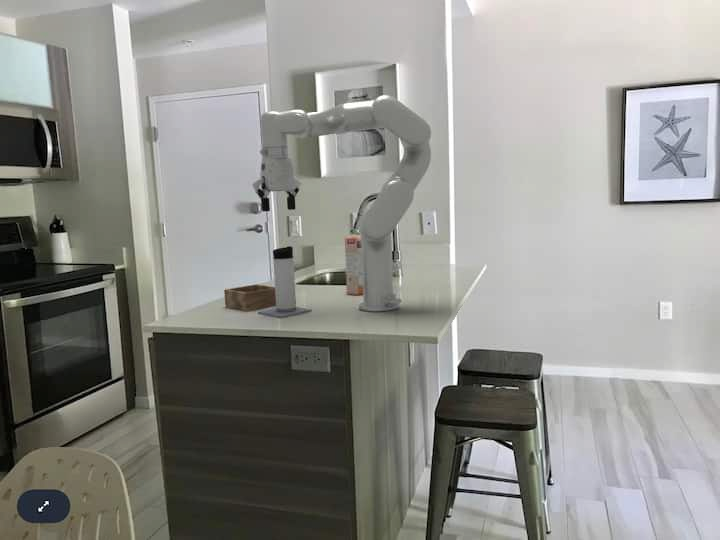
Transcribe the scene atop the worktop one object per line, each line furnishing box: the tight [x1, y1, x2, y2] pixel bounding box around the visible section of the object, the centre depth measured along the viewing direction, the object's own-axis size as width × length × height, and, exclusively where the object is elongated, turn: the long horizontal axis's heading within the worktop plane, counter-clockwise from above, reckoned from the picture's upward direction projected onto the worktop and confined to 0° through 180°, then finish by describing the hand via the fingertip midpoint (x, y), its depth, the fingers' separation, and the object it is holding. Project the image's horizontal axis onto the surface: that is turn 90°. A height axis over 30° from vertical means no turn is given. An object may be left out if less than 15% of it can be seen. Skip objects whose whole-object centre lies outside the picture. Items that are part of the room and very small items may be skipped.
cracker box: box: [344, 234, 363, 296], centre depth 212 cm, size 14×6×21 cm, turn 146°
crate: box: [224, 283, 276, 313], centre depth 195 cm, size 13×13×6 cm
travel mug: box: [272, 246, 297, 312], centre depth 181 cm, size 6×7×20 cm
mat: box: [257, 306, 313, 319], centre depth 183 cm, size 12×12×1 cm
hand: (279, 210), depth 178 cm, fingers open, 9 cm apart
